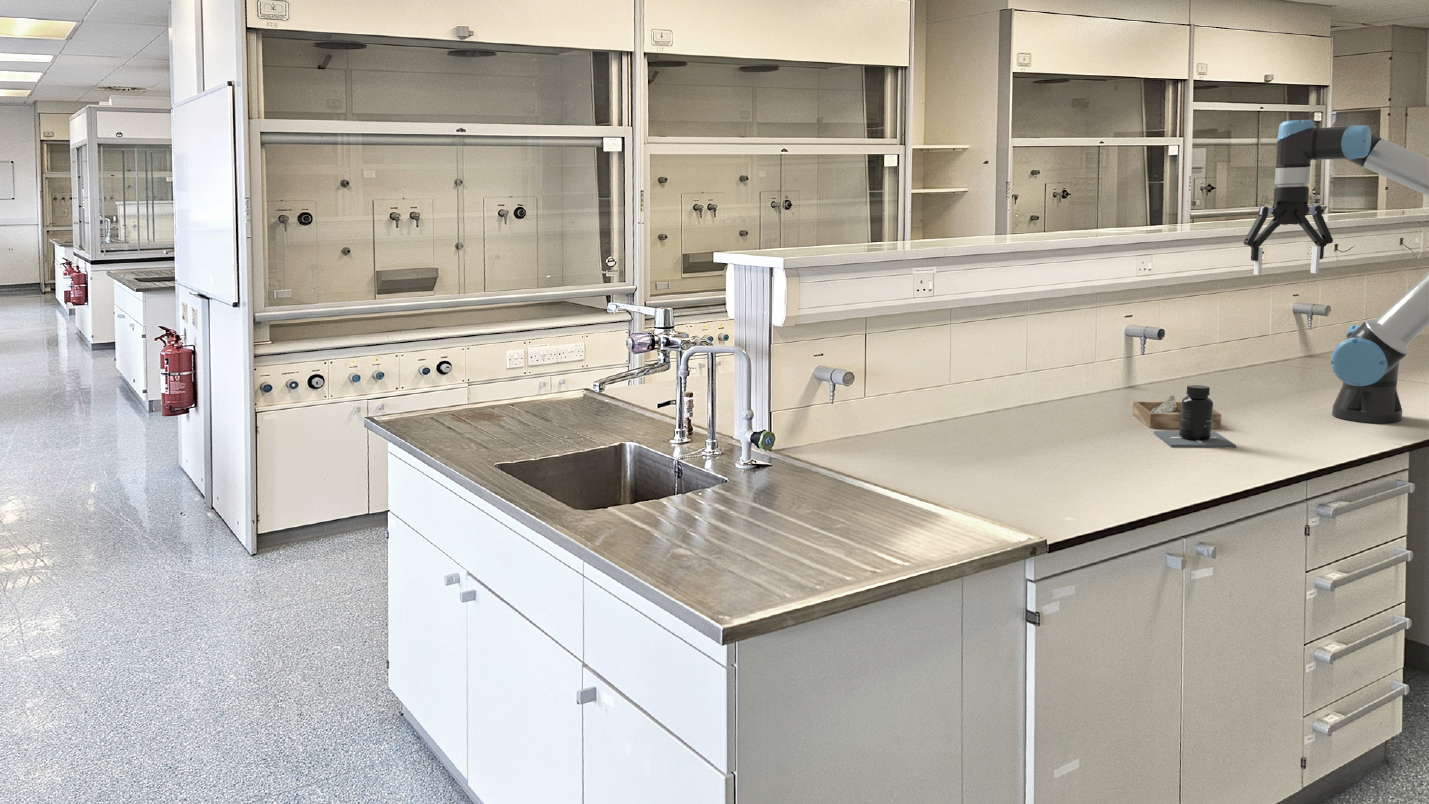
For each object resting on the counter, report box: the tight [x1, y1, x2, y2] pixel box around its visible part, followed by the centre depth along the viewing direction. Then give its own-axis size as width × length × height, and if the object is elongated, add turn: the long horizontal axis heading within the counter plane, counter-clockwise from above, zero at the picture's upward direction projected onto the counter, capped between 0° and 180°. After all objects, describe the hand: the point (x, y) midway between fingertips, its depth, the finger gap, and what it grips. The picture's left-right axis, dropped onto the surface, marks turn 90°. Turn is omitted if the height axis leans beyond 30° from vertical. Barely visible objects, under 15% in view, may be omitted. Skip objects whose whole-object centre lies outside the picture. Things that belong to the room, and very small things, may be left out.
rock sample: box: [1150, 394, 1179, 413], centre depth 277 cm, size 10×8×9 cm
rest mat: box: [1153, 430, 1237, 449], centre depth 255 cm, size 14×14×1 cm
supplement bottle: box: [1178, 384, 1214, 440], centre depth 254 cm, size 7×7×12 cm
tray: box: [1132, 401, 1222, 429], centre depth 275 cm, size 17×16×4 cm
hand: (1285, 273), depth 270 cm, fingers open, 13 cm apart
